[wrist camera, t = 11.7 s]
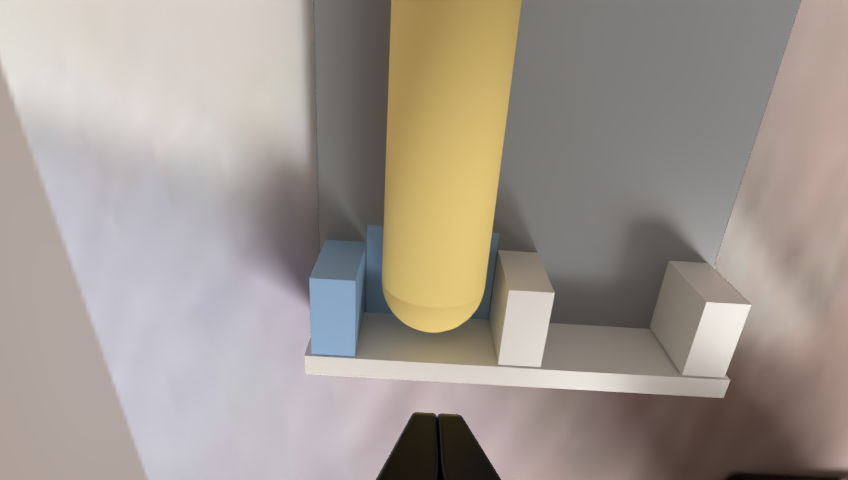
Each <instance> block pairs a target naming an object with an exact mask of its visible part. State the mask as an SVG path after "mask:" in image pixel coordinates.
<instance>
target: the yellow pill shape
mask: <svg viewBox="0 0 848 480" xmlns="http://www.w3.org/2000/svg"><path fill="white" fill-rule="evenodd" d="M521 2H522V0H391V25H390V54H389V83H388V112H387V141H386V170H385V200H384V229H383V258H382V287H383V293H384V297H385V300H386V302H387V304H388V306H389V307H390V309H391V311H392V312H393V313H394V314H395V316H396V317H397V318H398V319H399V320H401V321H402V322H403V323H404V324H406V325H408V326H410V327H412V328H414V329H416V330H419V331H423V332H430V333H437V332H443V331H447V330H451V329H454V328H456V327H458V326H459V325H461V324H462V323H464V322H465V321H467V320H468V319H469V318H470V317H471V316H472V314H473V313H474V312H475V311H476V310H477V308H478V306H479V304H480V302H481V300H482V297H483V294H484V290H485V283H486V275H487V268H488V260H489V252H490V244H491V236H492V229H493V221H494V213H495V205H496V197H497V190H498V182H499V174H500V166H501V158H502V151H503V143H504V135H505V127H506V119H507V112H508V104H509V96H510V88H511V80H512V73H513V65H514V57H515V49H516V41H517V34H518V26H519V18H520V10H521Z"/></svg>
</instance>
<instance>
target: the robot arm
mask: <svg viewBox="0 0 848 480" xmlns="http://www.w3.org/2000/svg"><path fill="white" fill-rule="evenodd" d="M376 480H501V479H500V477H499V476H498V474H497V472H496V471H495V469H494V467H493V466H492V464H491V463H490V461H489V459H488V458H487V456H486V455H485V453H484V451H483V450H482V448H481V446H480V445H479V443H478V442H477V440H476V438H475V437H474V435H473V434H472V432H471V430H470V429H469V427H468V425H467V424H466V422H465V421H464V419H463V418H462V416H460V415H458V414H439V415H438V416H436V415H435V414H434V413H420V412H415V413H413V414H412V416H411V417H410V419H409V421H408V423H407V425H406V426H405V428H404V430H403V432H402V434H401V435H400V437H399V439H398V441H397V443H396V444H395V446H394V448H393V450H392V452H391V453H390V455H389V457H388V459H387V460H386V462H385V464H384V466H383V468H382V469H381V471H380V473H379V475H378V477H377V478H376ZM728 480H827V479H808V478H790V477H772V476H753V475H734V476H731V477H730V478H729V479H728Z"/></svg>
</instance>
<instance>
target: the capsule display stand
mask: <svg viewBox="0 0 848 480" xmlns="http://www.w3.org/2000/svg"><path fill="white" fill-rule="evenodd" d="M800 3H801V0H522V2H521V10H520V18H519V26H518V34H517V41H516V49H515V57H514V65H513V73H512V80H511V88H510V96H509V104H508V112H507V119H506V127H505V135H504V143H503V151H502V158H501V166H500V174H499V182H498V190H497V197H496V205H495V213H494V221H493V229H492V236H491V244H490V252H489V260H488V268H487V275H486V283H485V290H484V294H483V297H482V300H481V302H480V304H479V306H478V308H477V310H476V311H475V312H474V313H473V314H472V316H471V317H470V318H469V319H468V320H467V321H465V322H464V323H462V324H461V325H459V326H458V327H456V328H454V329H451V330H447V331H443V332H437V333H430V332H423V331H419V330H416V329H414V328H412V327H410V326H408V325H406V324H404V323H403V322H402V321H401V320H399V319H398V318H397V317H396V316H395V314H394V313H393V312H392V311H391V309H390V307H389V306H388V304H387V302H386V300H385V297H384V293H383V287H382V258H383V229H384V200H385V170H386V141H387V112H388V83H389V54H390V25H391V0H314V31H315V76H316V121H317V166H318V211H319V256H318V259H317V261H316V263H315V266H314V268H313V270H312V273H311V275H310V277H309V290H310V321H311V339H310V341H309V344H308V347H307V350H306V353H305V356H304V357H305V374H311V375H328V376H346V377H363V378H381V379H398V380H416V381H433V382H451V383H468V384H486V385H503V386H521V387H539V388H556V389H574V390H591V391H609V392H626V393H644V394H661V395H679V396H696V397H714V398H724V396H725V393H726V390H727V388H728V385H729V383H730V379H729V378H728V377H727V375H726V372H727V369H728V366H729V364H730V361H731V358H732V356H733V353H734V351H735V348H736V345H737V343H738V340H739V337H740V335H741V332H742V329H743V327H744V324H745V321H746V319H747V316H748V313H749V311H750V308H751V304H750V303H749V302H748V301H747V300H746V299H745V298H744V297H743V296H742V295H741V294H740V293H739V292H738V291H737V290H736V289H735V288H734V287H733V286H732V285H730V284H729V283H728V282H727V281H726V280H725V279H724V278H723V277H722V276H721V275H720V274H719V273H718V272H717V271H716V270H715V269H714V268H713V266H714V263H715V260H716V257H717V254H718V251H719V248H720V245H721V242H722V239H723V236H724V233H725V230H726V227H727V224H728V221H729V218H730V215H731V212H732V209H733V206H734V203H735V200H736V197H737V193H738V190H739V187H740V184H741V181H742V178H743V175H744V172H745V169H746V166H747V163H748V160H749V157H750V154H751V151H752V148H753V145H754V142H755V139H756V136H757V133H758V130H759V127H760V124H761V121H762V118H763V115H764V112H765V109H766V106H767V103H768V100H769V97H770V94H771V90H772V87H773V84H774V81H775V78H776V75H777V72H778V69H779V66H780V63H781V60H782V57H783V54H784V51H785V48H786V45H787V42H788V39H789V36H790V33H791V30H792V27H793V24H794V21H795V18H796V15H797V12H798V9H799V6H800Z"/></svg>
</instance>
